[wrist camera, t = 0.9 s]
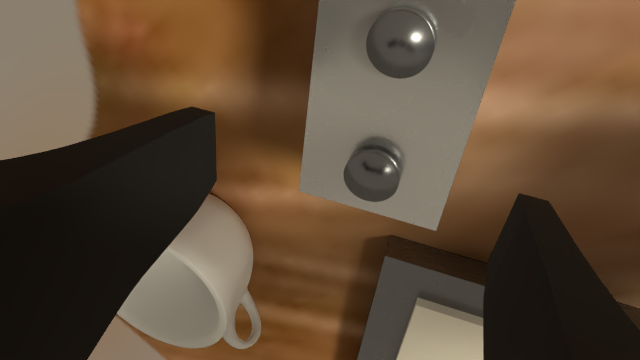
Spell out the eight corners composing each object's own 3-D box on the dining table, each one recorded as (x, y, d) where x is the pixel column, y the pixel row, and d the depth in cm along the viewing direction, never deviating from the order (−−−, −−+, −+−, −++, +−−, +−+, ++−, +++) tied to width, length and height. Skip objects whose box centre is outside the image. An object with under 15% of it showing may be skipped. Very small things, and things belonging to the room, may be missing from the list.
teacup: (124, 201, 28) (58, 263, 24) (197, 141, 24) (131, 204, 20) (239, 312, 31) (197, 385, 27) (324, 275, 27) (289, 357, 22)
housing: (516, -47, 16) (520, -5, 11) (449, 156, 20) (433, 242, 16) (367, -74, 16) (317, -44, 12) (337, 127, 21) (292, 200, 17)
